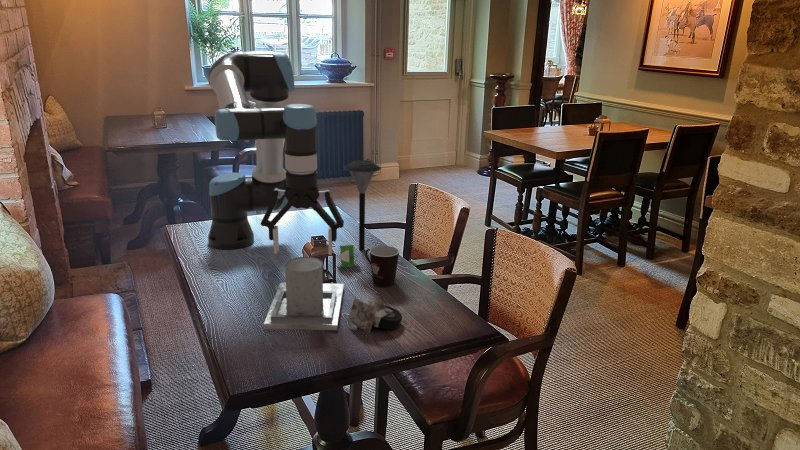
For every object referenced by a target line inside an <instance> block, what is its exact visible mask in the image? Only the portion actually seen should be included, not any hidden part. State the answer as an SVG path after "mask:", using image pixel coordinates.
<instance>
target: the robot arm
mask: <svg viewBox="0 0 800 450" xmlns="http://www.w3.org/2000/svg"><path fill="white" fill-rule="evenodd" d="M292 66H293V65H292V62H291V59H290V57H289V55H287V53H285V52H280V51H231V52H229V53H226V54H223V55H222V56H220V57H219V58H217V59H216V61H215V62H214V63H213V64H212V65H211V67H210V69H209V72H208V81H209V86H210V87H211V89H212V90H213V92H214V93H215V95H216V99H217V103H218V108H219V109H216V110H215V112H214V127H215V132H216V133H215V135H216V138H217V139H218V140H219V141H231V142H236V141H250V140H251V141H253V140H254V141H255V143H256V145H255V146H256V151H255V152H256V156H255V157H256V167H255V168H254V169H253V170H252V172H251V176H250V177H248V176H247V177H246V175H245V173H243V172H229V173H224V174H223V173H222V174H220V175H218V176H217V175H216V176H215V177H213V178H212V179H211V180H210V182H209V192H208V195H209V197H210V210H211V211H210V212H211V224H210V229H209V233H208V236H207V243H208V245H209V246H210V247H212V248H214V249H219V250H236V249H241V248H245V247H247V246H250V245H252V244H253V243H254V242H255V235H254V231H253V229H252V226H251V224H250V222H249V219H248V212H261V211H262V212H263V211H264V212H265V213H264V215H263V218H262V219H261V221H260V226H261V227H267V228H268V238H269V241H272V242H273V254H274V255H275V254H276V255H277V254H278V253H279V248H280V245H279V226H278V225H277V223H279V222H280V220H281V219H282V217H284V216H285V214H286V213H287V212H288V211H289V210H290V209H292V207H293V208H295V209H301V208H302V209H304V210H305V209H306V210H307V209H309V208H311V209H312V210H313V211H315V212H316V213H317V215H319V217H320V218H321V219H322V220H323V222H324V223H326V224H327V226H328V230H327V231H328V233H327V235H328V236H327V237H328V238H327V239H328V240H327V241H328V247H327V248H328V256H332V254H333V243H334V242H337V238H338V235H337V234H338V229H341V228H343V227H344V225H345V222H344V219H343V217H342V215H341V213H340V211H339V209H338V208H337V206H336V203H335V202H334V199H333V198H332V194H331V193H332V192H331V189H329V188H327V189H325V190H319V187H318V171H317V169H318V152H317V151H318V149H317V147H318V144H317V143H318V140H317V136H318V135H317V133H318V132H317V128H318V127H317V126H318V125H317V124H318V119H317V109H316V107H315V106H314V105H312V104H306V103H291V104H287V105H284V104H285V103H284V102H286V101H287V100H288V99H289V93H291V92H293V91H294V90H295V77H294V72H293V71H294V70H293V67H292ZM248 92H249V96H250V98H251V99H252V100H253V101H254V102H255V107H254V108H252V107H251V104H250V102H249V98H248V95H247V93H248ZM283 162H284V163H283ZM284 164H285V165H284ZM284 166H285V168H284ZM319 197H321V198H322V200H325V203H326V205H327V207H328V209H329V211H330V213H331V214H332V216H331V215H330V214H329V213H328V212H327V211H326V210H325V208H324V207H323V206H322V205H321V204H320V202H319V201H318V199H319ZM278 210H279V211H278ZM274 211H278V212H277V214H275V215H274V217H273V219H271V220H269V219H270V217H271V215H272V213H273V212H274ZM332 217H333V218H334V219H333V218H332Z"/></svg>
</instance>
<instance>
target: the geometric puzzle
mask: <svg viewBox="0 0 800 450" xmlns="http://www.w3.org/2000/svg"><path fill="white" fill-rule="evenodd" d="M339 251H340V252H337V254H336V255H335V258H336V259H339V260H337V261H338V263H339V265H340V268H348V267H349V268H350V267H351V268H352V267H356V263H357V260H355V259H358V257H359V256H360V255H359V253H357V251H356V248H355V245H354V244H346V245H339ZM354 251H355V252H354ZM340 262H341V263H340Z"/></svg>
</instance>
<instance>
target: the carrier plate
mask: <svg viewBox="0 0 800 450" xmlns="http://www.w3.org/2000/svg"><path fill="white" fill-rule="evenodd" d="M344 285H345V284H344V283H323V305H324V306H323V309H322V311H320V312H319V313H317V314H314V315H293V314H291V313H289V312H288V311H287V309H286V307H287V301H286V282H280V283H279V286H278V288H277V290H276V293H275V295H274V297H273V300H272V302H271V305H270V307H269V309H268V312H267V315H266V318H265V319H264V322H263V330H281V331H282V330H283V331H285V330H286V331H287V330H293V331H294V330H295V331H296V330H299V331H300V330H301V331H338V328H339V320H340V317H341V315H340V314H341V308H342V304H343V303H342V301H343V295H344V290H345V286H344Z"/></svg>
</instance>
